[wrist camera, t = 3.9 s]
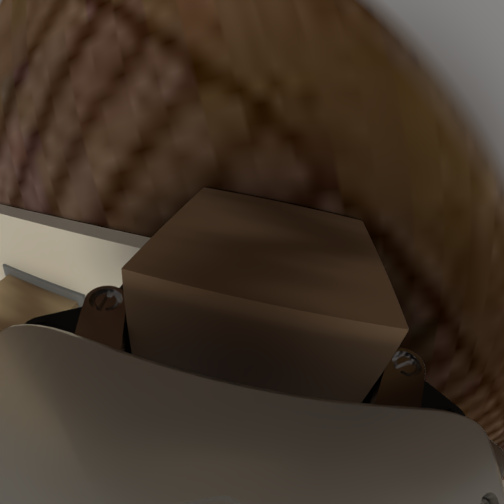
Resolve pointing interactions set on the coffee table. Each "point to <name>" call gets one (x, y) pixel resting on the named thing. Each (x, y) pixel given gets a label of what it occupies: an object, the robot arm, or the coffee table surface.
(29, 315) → the oak block
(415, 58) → the coffee table surface
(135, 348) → the walnut block
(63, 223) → the board
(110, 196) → the coffee table surface
